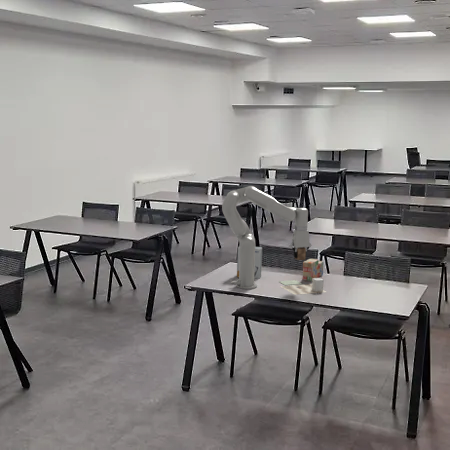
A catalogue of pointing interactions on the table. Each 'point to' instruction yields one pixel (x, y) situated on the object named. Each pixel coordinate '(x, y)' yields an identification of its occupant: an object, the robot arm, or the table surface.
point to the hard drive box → (257, 262)
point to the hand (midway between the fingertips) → (299, 257)
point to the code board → (300, 289)
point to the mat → (290, 282)
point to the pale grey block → (317, 284)
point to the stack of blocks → (312, 269)
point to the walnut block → (301, 253)
